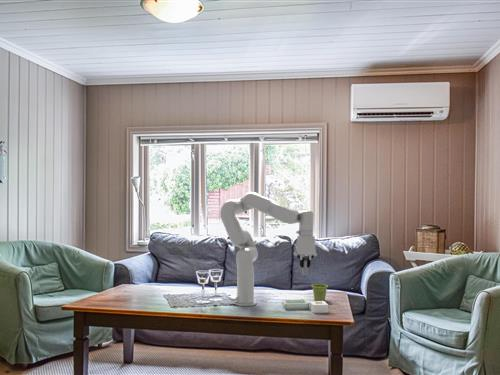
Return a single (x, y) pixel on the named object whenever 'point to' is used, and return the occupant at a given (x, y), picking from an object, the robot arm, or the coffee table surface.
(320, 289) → the plant pot
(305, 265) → the pin
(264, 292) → the coffee table surface
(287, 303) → the tray
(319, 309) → the socket block
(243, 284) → the robot arm
